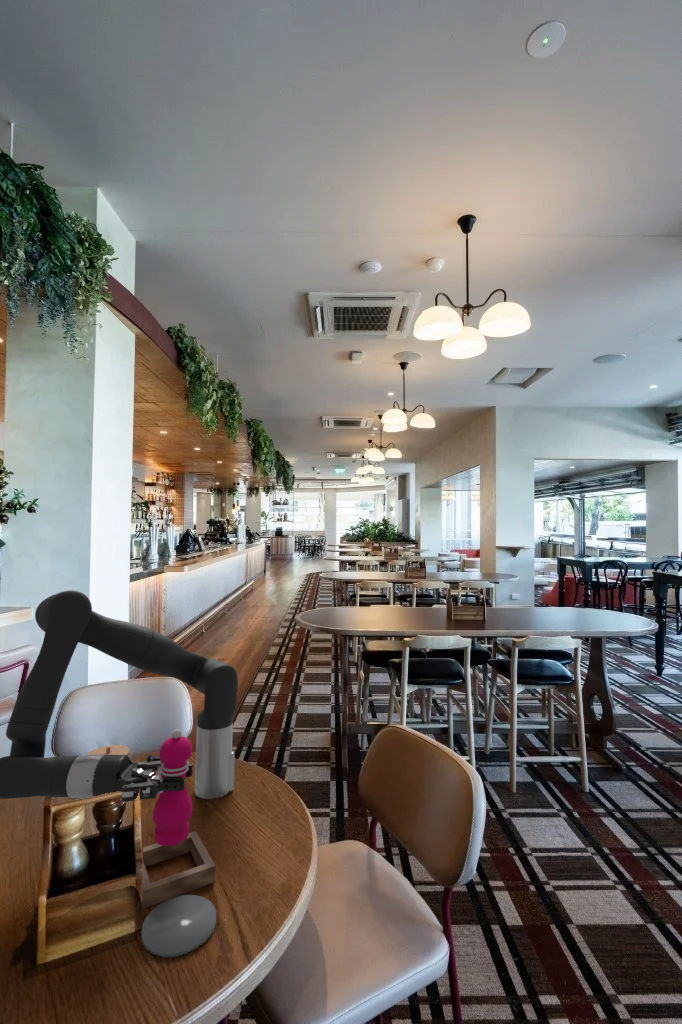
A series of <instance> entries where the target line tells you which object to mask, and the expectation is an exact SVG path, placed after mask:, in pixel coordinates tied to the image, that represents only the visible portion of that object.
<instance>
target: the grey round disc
mask: <svg viewBox="0 0 682 1024" xmlns="http://www.w3.org/2000/svg"><path fill="white" fill-rule="evenodd" d="M216 925H217V909H216V907H215V905H214V904H213V902H212V901H211V900H209V898H206V897H203V896H201V895H196V894H185V895H184V894H182V895H179V896H176V897H173V898H171V899H168V900H165V901H163V902H160V903H159V904H158V905H157V906H155V907H154V908H153V909H152V910H151V911H149V913H148V915H147V916H146V917H145V919H144V921H143V922H142V927H141V936H140V937H141V938H142V939H141V943H143V944H142V946H143V945H144V946H145V948H146V949H147V950H149V951H150V952H151V953H153V954H154V956H155V955H158V956H157V957H159V956H161V957H160V958H175V957H181V956H183V954H184V955H186V954H187V955H188V954H189V953H188V952H190V953H192V952H193V951H192V950H194V949H195V950H197V949H198V948H200V947H201V946H202V945H204V944H205V943H206V942H207V941H208V940H209V939H208V938H210V937H212V935H213V933H214V931H215V929H214V928H216ZM211 934H212V935H211ZM207 939H208V940H207ZM203 943H204V944H203ZM200 945H201V946H200ZM144 946H143V947H144ZM199 946H200V947H199ZM197 947H198V948H197ZM145 948H144V949H145ZM196 948H197V949H196ZM146 949H145V950H146ZM147 950H146V951H147ZM195 950H194V951H195ZM191 951H192V952H191ZM150 952H149V953H150ZM151 953H150V954H151ZM153 954H152V955H153ZM180 955H181V956H180Z"/></svg>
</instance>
